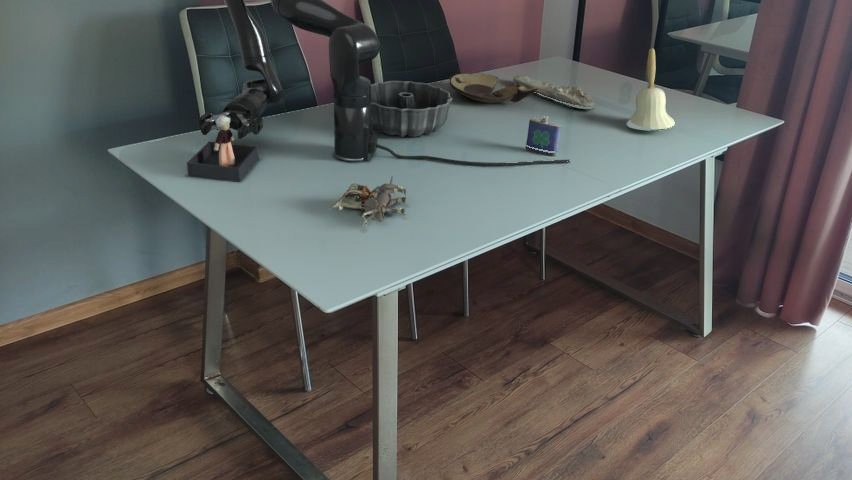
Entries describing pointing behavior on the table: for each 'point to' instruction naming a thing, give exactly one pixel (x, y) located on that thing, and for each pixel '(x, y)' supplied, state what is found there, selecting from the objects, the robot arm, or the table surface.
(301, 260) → the table surface
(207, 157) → the pan
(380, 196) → the figurine
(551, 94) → the elongated rock
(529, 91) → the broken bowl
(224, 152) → the grandmother figurine
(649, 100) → the handbell
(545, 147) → the flask
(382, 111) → the bundt pan
